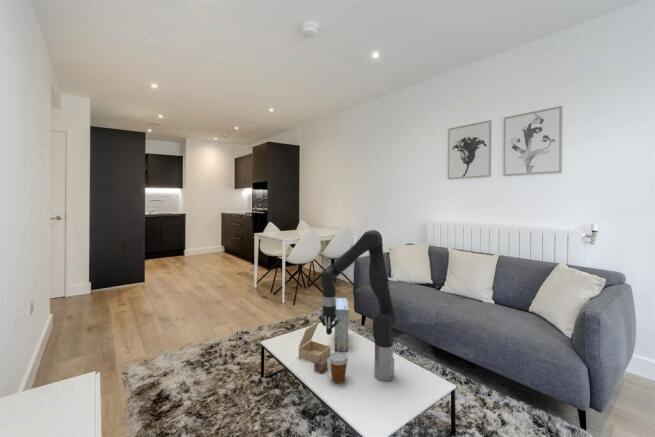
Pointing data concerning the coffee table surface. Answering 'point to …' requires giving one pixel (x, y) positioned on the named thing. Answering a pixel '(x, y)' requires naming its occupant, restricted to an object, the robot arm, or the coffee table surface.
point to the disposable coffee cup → (338, 366)
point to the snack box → (341, 325)
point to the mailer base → (314, 351)
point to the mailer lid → (308, 334)
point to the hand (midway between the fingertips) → (329, 334)
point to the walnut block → (320, 365)
